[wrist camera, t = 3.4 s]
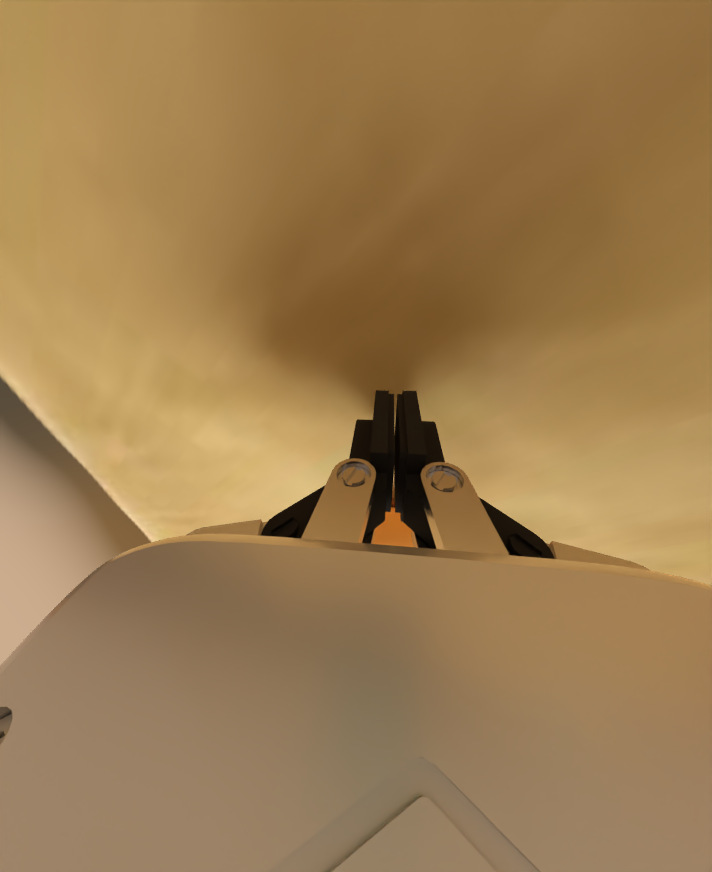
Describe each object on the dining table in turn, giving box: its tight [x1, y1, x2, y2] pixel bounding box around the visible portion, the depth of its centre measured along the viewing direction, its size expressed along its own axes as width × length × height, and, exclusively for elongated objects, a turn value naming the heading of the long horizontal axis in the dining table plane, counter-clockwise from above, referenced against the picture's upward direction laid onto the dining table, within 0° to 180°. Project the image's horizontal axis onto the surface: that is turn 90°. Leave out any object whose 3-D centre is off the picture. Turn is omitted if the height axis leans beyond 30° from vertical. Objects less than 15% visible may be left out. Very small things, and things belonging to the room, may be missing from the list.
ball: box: [373, 507, 414, 547], centre depth 16 cm, size 6×6×6 cm
